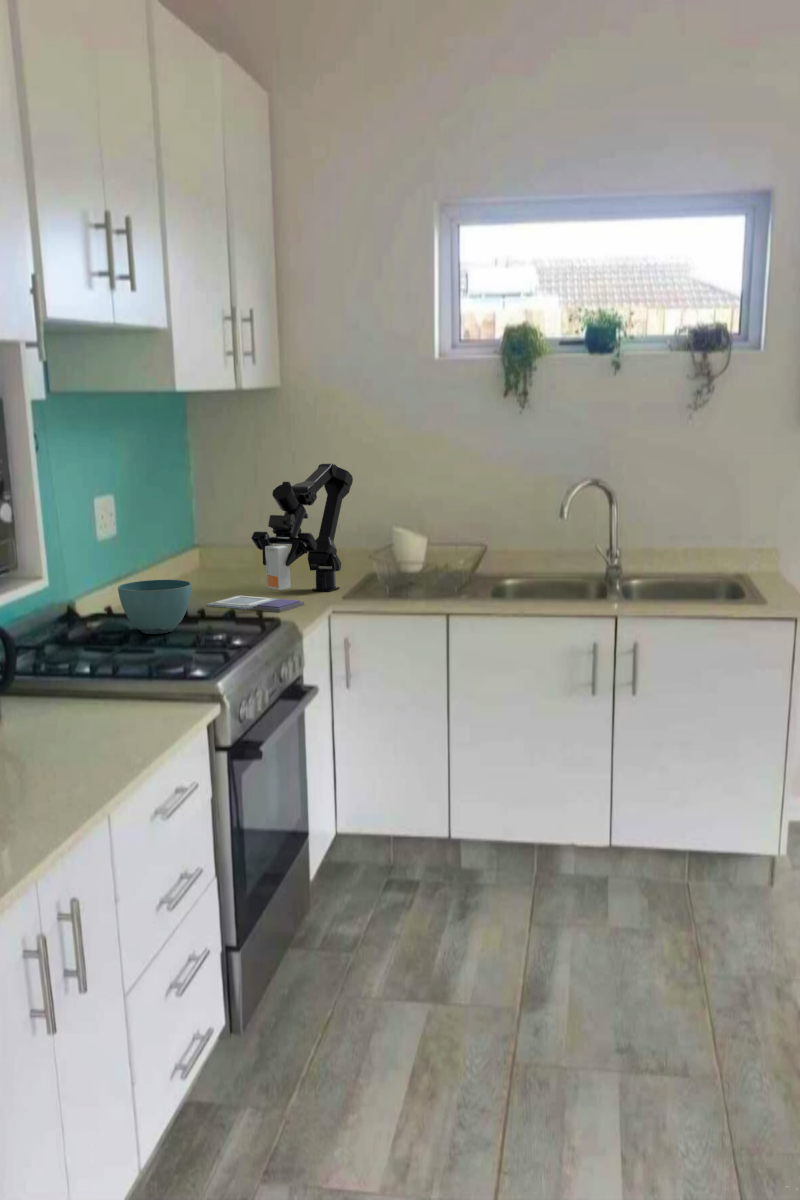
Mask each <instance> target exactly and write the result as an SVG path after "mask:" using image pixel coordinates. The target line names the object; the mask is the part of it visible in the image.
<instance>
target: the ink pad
mask: <svg viewBox="0 0 800 1200" xmlns="http://www.w3.org/2000/svg"><path fill="white" fill-rule="evenodd" d="M276 599H277V600H273V601H269V602H266V603H262V604H259V605H257V606H254V608H253V610H254V611H261V610H262V612H263V611H264V612H273V613H281V612H284V611H289V610H292V609H295V608H298V607H302V606H305V602H304V601H302V600H295V599H284V598H276Z"/></svg>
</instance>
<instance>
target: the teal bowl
mask: <svg viewBox="0 0 800 1200" xmlns="http://www.w3.org/2000/svg"><path fill="white" fill-rule="evenodd" d="M191 593H192V582H191V581H187V580H183V579H181V580H180V579H147V580H138V581H131V582H127V583H123V584H120V585H118V586H117V594H118V596H119V602H120V604H121V607H122V609H123V611H124V613H125V615H126V617H127V619H128V620H129V621H130V623H131V624H132V625H133V627H134V628H136V627H137V628H141V629H158V628H159V629H166V628H171V627H174V626H177V625H178V624H179V623H181V622H182V620H183V619H184V616H186V613H187V610H188V608H189V605H190V599H191V596H192V595H191ZM179 625H180V624H179ZM179 625H178V626H179ZM178 626H177V627H178Z"/></svg>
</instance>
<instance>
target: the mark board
mask: <svg viewBox="0 0 800 1200" xmlns="http://www.w3.org/2000/svg"><path fill="white" fill-rule="evenodd" d="M277 599H278V598H271V597H263V596H262V597H261V596H260V597H259V596H252V595H251V596H250V595H249V596H248V595H241V594H240V595H235V596H231V597H227V598H223V599H219V600H217V601H213V602H210V603H209V602H208V603H206V606H207V607H213V606H214V608H224V607H226V608H227V609H235V608H238V609H237V610H246V611H249V610H254V606H257V605H259V604H262V603H266V602H269V601H273V600H277ZM247 609H248V610H247Z"/></svg>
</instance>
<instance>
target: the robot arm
mask: <svg viewBox="0 0 800 1200" xmlns="http://www.w3.org/2000/svg"><path fill="white" fill-rule="evenodd" d="M353 481H354V479H353V475H352V474H351V473H350V472H349V471H348V470H346V469H344V468H342V467H339V466H337V465H336V464H335V463H321V464H319V465H318V466H317V469H315V470H314V471H313V473H311V474H310V475H309V476H308V477H307V478H306V479H305V480H304V481H302V482H299V483H295V484H293V485H292V484H291V482H290V481H282V484H279V485H278V486H276V487H275V488H274V489H273V490H272V492H271V494H272V495H271V496H272V498H273V499H274V500H275V502H276V504H277V505H278V507H279V509H280V510H281V511H282V512H284V514H283V515H281V514H279V515H278V514H269V518H268V524H267V526H268V527H269V528H271V529H272V533H273V535H275V536H271V535H269V533H268V532H267V531H263V530H262V531H259V530H258V531H253V533H252V535H251V540H252V541H253V543H254V545H255V546H256V548H257V549H258V550H260V551H262V565H263V566H265V567H266V556H265V546H271V545H282V546H291V548H290V549H289V555H288V558H287V561H286V566H289V565H290V566H291V565H292V564H293V563H295V561H297V560H298V559H300V557H301V556H303V555H305V554H307V563H308V567H309V571H315V587H313V588H312V591H316V590H318V592H332V590H333V591H336V590H338V588H341V587H340V586H337V585H336V583H337V582H336V572H339V571H341V569H342V561H341V560H340V558H339V556H338V554H337V552H338V551H337V547H336V544H335V535H336V531H337V527H338V522H339V516H340V512H341V507H342V503H343V500H344V498H346V496H348V495H349V493H350V490H351V487H352V485H353ZM321 488H324V490H325V491H326V492H325V493H326V494H327V495H326V500H325V505H324V509H323V514H322V518H321V522H320V523H321V524H320V528H319V532H318V536H317V538H315V537H314V535H313V534H312V532H302V528H301V526H302V525H303V524H302V523H303V521H304V520H305V519H309V517H308V516H309V515H308V513H307V510H306V508H305V507H304V506H313V504H314V503H315V501H316V500H317V498H318V496H317V493H318V492H319V490H321ZM335 589H336V590H335Z"/></svg>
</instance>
